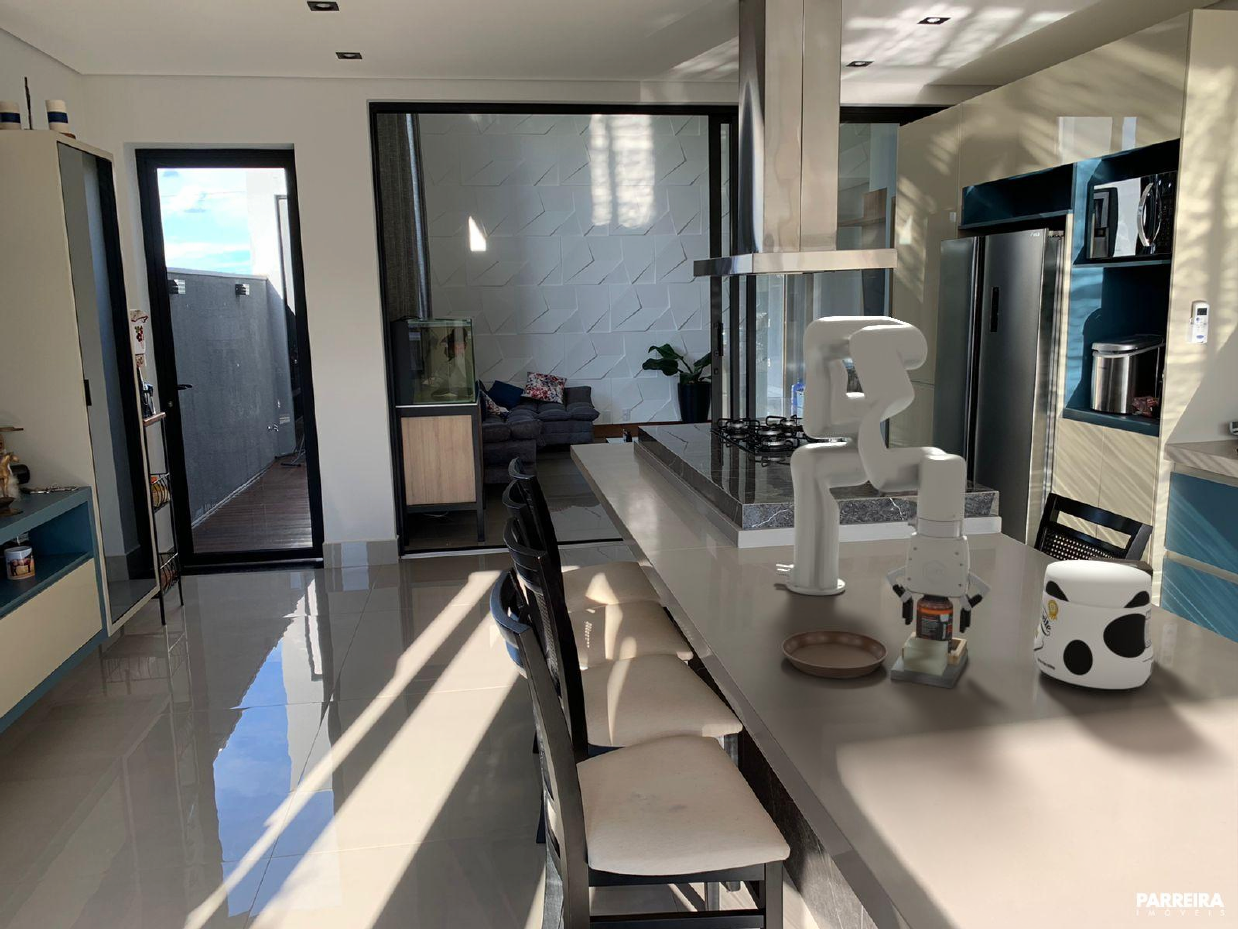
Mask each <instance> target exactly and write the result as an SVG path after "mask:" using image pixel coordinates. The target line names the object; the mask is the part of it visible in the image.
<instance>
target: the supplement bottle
mask: <svg viewBox="0 0 1238 929" xmlns="http://www.w3.org/2000/svg"><path fill="white" fill-rule="evenodd" d="M922 595H923V596H922V597H920V598H919V599H918V600H917V602H916V614H915V615H916V617H915V622H916V623H915V632H916V638H922V639H929V640H936V641H942V642H948V653H950V652H951V649H952V637H953V627H954V626H953V623H954V604H953V602H952V601H951V600H950V599H949V598H948V597H940V596H932V595H925V594H922Z"/></svg>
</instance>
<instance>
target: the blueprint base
mask: <svg viewBox="0 0 1238 929" xmlns="http://www.w3.org/2000/svg"><path fill="white" fill-rule="evenodd" d="M968 657H969V647H968V639H966V638H958V637H953V636H952V649H951V652H950V653H948V642H942V641H936V640H929V639H922V638H916V631H912V632H911V634H910V636H909V637H908V638H907V640H906V642H904V644H903V646H902V647H901V654H900V656H899V657H898V659H897V660H896V661H895V662H894V664H893V666H892V667H891V668H890V679H894V680H900V681H905V682H912V683H917V684H923V685H927V684H928V686H933V685H934V687H939V688H944V689H951V688H952V689H953V687H954V685H955V683H956V681H957V679H958V677H959V675H960V673H961V671H962V669H963V667H964V665H965V663H966V661H967V658H968Z"/></svg>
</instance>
